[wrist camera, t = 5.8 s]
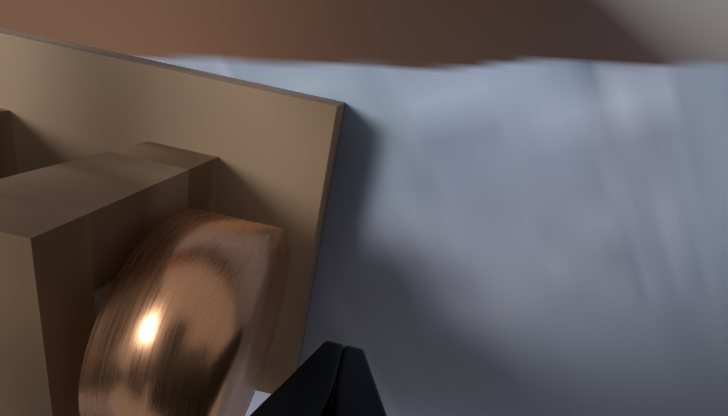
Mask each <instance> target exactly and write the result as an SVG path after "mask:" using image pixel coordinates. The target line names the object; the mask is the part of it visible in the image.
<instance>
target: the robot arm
mask: <svg viewBox="0 0 728 416" xmlns="http://www.w3.org/2000/svg"><path fill="white" fill-rule="evenodd" d="M342 354H343V355H342ZM341 358H342V359H341ZM339 367H340V368H339ZM337 376H338V377H337ZM336 380H337V381H336ZM335 385H336V386H335ZM334 389H335V390H334ZM332 398H333V399H332ZM331 402H332V403H331ZM330 407H331V408H330ZM329 411H330V412H329ZM250 416H387V415H386V412H385V410H384V407H383V404H382V401H381V398H380V395H379V393H378V390H377V387H376V384H375V381H374V379H373V376H372V373H371V370H370V367H369V365H368V362H367V359H366V356H365V353H364V351H363V350H362V349H360V348H356V347H351V346H345V347H344V346H343V345H342V344H339V343H335V342H330V341H326V342H324V343H323V344H322V345H321V346H320V347H319V348H318V349H317V350H316V351H315V352H314V353H313V354H312V355H311V356H310V357H309V358H308V359H307V360H306V361H305V362H304V363H303V364H302V365H301V366H300V367H299V368H298V369H297V370H296V371H295V372H294V373H293V374H292V375H291V376H290V377H289V378H288V379H287V380H286V381H285V382H284V383H283V384H282V385H281V386H280V387H279V388H277V389H276V390H275V391H274V392H273V393H272V394H271V395H270V396H269V397H268V398H267V399H266V400H265V401H264V402H263V403H262V404H261V405H260V406H259V407H258V408H257V409H256V410H255V411H254V412H253V413H252V414H251V415H250Z"/></svg>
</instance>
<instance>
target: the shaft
mask: <svg viewBox="0 0 728 416" xmlns="http://www.w3.org/2000/svg"><path fill="white" fill-rule="evenodd" d="M288 261H289V243H288V237H287V234H286V232H285V230H284V229H283V228H280V227H275V226H271V225H266V224H262V223H257V222H253V221H249V220H244V219H240V218H235V217H231V216H227V215H222V214H218V213H213V212H209V211H204V210H200V209H196V208H192V209H185V210H181V211H179V212H177V213H175V214H173V215H171V216H169V217H168V218H166V219H165V220H164V221H162V222H161V223H160V224H159V225H157V226H156V227H155V228H154V229H153V230H152V231H151V232H150V233H149V234H148V235H147V236H146V237H145V238H144V239H143V241H142V242H141V243H140V244H139V245H138V247H137V248H136V249H135V250H134V252H133V253H132V254H131V256H130V257H129V258H128V260H127V261H126V263H125V265H124V266H123V268H122V269H121V271H120V272H119V274H118V275H116V276H115V277H114V278H112V279H111V280H109V281H108V282H106V283H105V284H104V285H102V286H101V287H99V288H98V289H96V290H95V291H94V307H95V323H94V326H93V329H92V331H91V334H90V337H89V341H88V344H87V348H86V351H85V354H84V359H83V364H82V369H81V374H80V383H79V392H78V394H79V413H80V416H245V414H246V412H247V409H248V407H249V405H250V403H251V400H252V398H253V395H254V393H255V390H256V388H257V385H258V382H259V380H260V377H261V374H262V371H263V369H264V366H265V363H266V360H267V357H268V354H269V350H270V347H271V344H272V340H273V337H274V334H275V330H276V326H277V322H278V318H279V314H280V310H281V306H282V301H283V296H284V291H285V285H286V279H287V271H288Z"/></svg>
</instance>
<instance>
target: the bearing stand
mask: <svg viewBox="0 0 728 416" xmlns="http://www.w3.org/2000/svg"><path fill="white" fill-rule="evenodd" d="M344 107H345V102H340V101H335V100H331V99H326V98H322V97H317V96H313V95H308V94H303V93H299V92H294V91H290V90H285V89H280V88H276V87H271V86H267V85H262V84H258V83H253V82H248V81H244V80H239V79H235V78H230V77H225V76H221V75H216V74H212V73H207V72H203V71H198V70H193V69H189V68H184V67H180V66H175V65H170V64H166V63H161V62H157V61H152V60H148V59H143V58H138V57H134V56H129V55H125V54H120V53H115V52H111V51H106V50H102V49H97V48H92V47H88V46H83V45H79V44H74V43H70V42H65V41H61V40H56V39H51V38H47V37H42V36H38V35H33V34H28V33H24V32H19V31H15V30H10V29H5V28H1V27H0V416H80V413H79V394H78V392H79V383H80V374H81V369H82V364H83V359H84V354H85V351H86V348H87V344H88V341H89V337H90V334H91V331H92V329H93V326H94V323H95V307H94V291H95V290H96V289H98V288H99V287H101V286H102V285H104V284H105V283H106V282H108V281H109V280H111V279H112V278H114V277H115V276H116V275H118V274H119V272H120V271H121V269H122V268H123V266H124V265H125V263H126V261H127V260H128V258H129V257H130V256H131V254H132V253H133V252H134V250H135V249H136V248H137V247H138V245H139V244H140V243H141V242H142V241H143V239H144V238H145V237H146V236H147V235H148V234H149V233H150V232H151V231H152V230H153V229H154V228H155V227H156V226H157V225H159V224H160V223H161V222H162V221H164V220H165V219H166V218H168V217H169V216H171V215H173V214H175V213H177V212H179V211H181V210H185V209H192V208H196V209H200V210H204V211H209V212H213V213H218V214H222V215H227V216H231V217H235V218H240V219H244V220H249V221H253V222H257V223H262V224H266V225H271V226H275V227H280V228H283V229H284V230H285V232H286V234H287V237H288V243H289V261H288V271H287V279H286V285H285V291H284V296H283V301H282V306H281V310H280V314H279V318H278V322H277V326H276V330H275V334H274V337H273V340H272V344H271V347H270V350H269V354H268V357H267V360H266V363H265V366H264V369H263V371H262V374H261V377H260V380H259V382H258V385H257V388H256V390H257V391H262V392H266V393H270V394H272V393H273V392H274V391H275V390H276V389H277V388H279V387H280V386H281V385H282V384H283V383H284V382H285V381H286V380H287V379H288V378H289V377H290V376H291V375H292V374H293V373H294V372H295V371H296V370H297V368H298V365H299V360H300V354H301V349H302V343H303V337H304V332H305V326H306V320H307V315H308V309H309V304H310V298H311V292H312V287H313V281H314V276H315V270H316V264H317V259H318V253H319V248H320V242H321V236H322V231H323V225H324V219H325V214H326V208H327V203H328V197H329V191H330V186H331V180H332V175H333V169H334V163H335V158H336V152H337V146H338V141H339V135H340V130H341V124H342V118H343V113H344Z"/></svg>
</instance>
